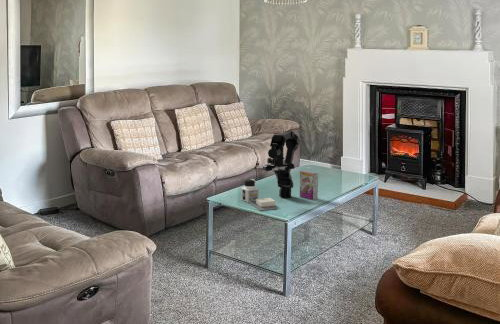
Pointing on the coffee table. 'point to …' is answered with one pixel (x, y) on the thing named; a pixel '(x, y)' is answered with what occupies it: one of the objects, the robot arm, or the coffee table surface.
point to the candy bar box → (309, 185)
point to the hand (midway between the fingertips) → (278, 180)
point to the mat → (262, 207)
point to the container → (249, 191)
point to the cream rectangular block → (265, 202)
